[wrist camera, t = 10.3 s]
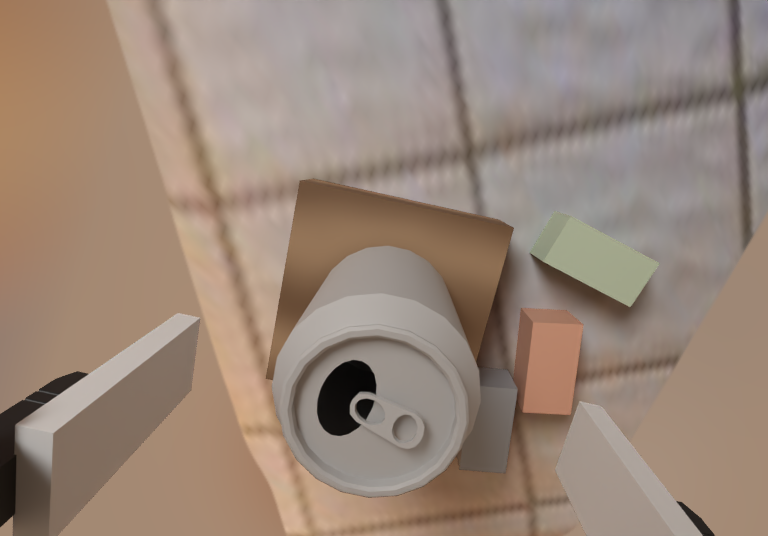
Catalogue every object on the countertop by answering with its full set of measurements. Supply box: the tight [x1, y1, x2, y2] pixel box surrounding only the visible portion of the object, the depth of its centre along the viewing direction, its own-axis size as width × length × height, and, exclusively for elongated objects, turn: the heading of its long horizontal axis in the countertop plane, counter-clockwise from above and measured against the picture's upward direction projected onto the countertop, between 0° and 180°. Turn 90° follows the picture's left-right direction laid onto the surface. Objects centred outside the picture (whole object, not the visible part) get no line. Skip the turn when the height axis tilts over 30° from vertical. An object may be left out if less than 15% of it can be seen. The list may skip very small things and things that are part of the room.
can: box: [272, 246, 481, 498], centre depth 21 cm, size 8×8×12 cm
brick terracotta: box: [513, 308, 583, 415], centre depth 30 cm, size 6×3×3 cm, turn 178°
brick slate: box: [457, 367, 518, 473], centre depth 31 cm, size 6×3×3 cm, turn 176°
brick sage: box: [530, 211, 660, 307], centre depth 28 cm, size 6×3×3 cm, turn 63°
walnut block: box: [266, 179, 514, 380], centre depth 28 cm, size 12×12×4 cm
